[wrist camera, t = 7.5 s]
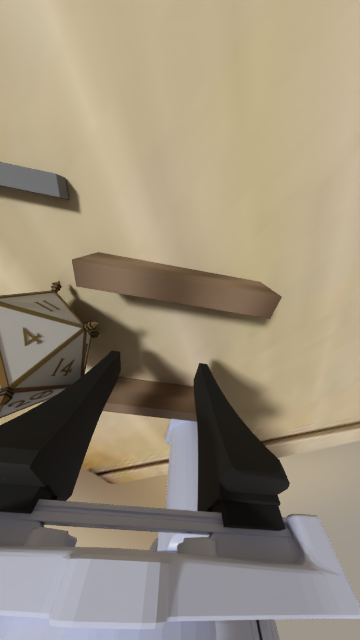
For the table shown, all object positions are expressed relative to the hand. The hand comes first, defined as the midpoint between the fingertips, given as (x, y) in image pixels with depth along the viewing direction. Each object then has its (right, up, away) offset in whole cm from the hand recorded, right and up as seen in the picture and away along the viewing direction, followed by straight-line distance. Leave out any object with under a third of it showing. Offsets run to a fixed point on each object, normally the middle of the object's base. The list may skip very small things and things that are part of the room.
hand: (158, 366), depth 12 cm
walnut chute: (+1, +1, +3) cm, 3 cm away
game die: (-8, +4, +1) cm, 9 cm away
